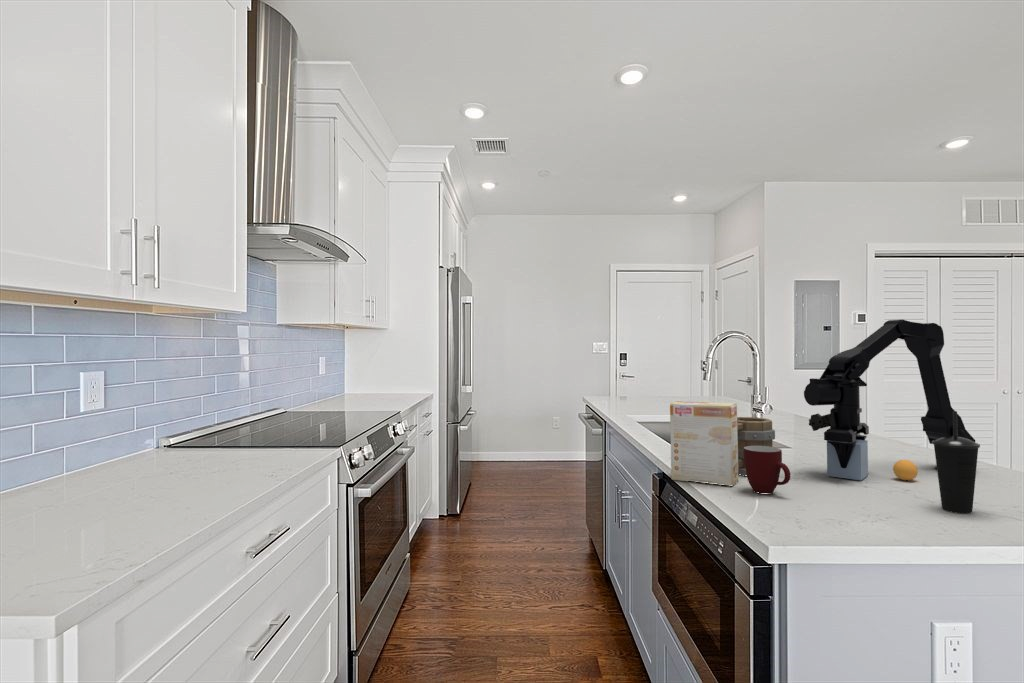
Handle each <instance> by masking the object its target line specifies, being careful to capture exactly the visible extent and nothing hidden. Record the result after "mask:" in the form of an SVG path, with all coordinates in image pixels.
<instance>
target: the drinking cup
mask: <svg viewBox="0 0 1024 683" xmlns="http://www.w3.org/2000/svg"><path fill="white" fill-rule="evenodd" d="M957 414H958V411H956V410H955V411H953V436H949V437H942V438H939V439H937V440H933V441H932V444H931V445H933V449H934V456H935V463H936V465H937V469H936V472H937V478H938V487H939V494H940V503H941V508H943V509H942V510H944V511H946V510H947V512H950V511H952V513H955V512H957V513H956V514H972V513H973V507H974V497H975V488H976V487H975V486H976V476H977V466H978V465H977V464H978V455H979V449H980V448H981V445H980V443H978V442H976V441H975V442H973V441H971V440H969V439H966V438H962V437H958V433H957ZM971 512H972V513H971Z"/></svg>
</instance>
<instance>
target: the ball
mask: <svg viewBox="0 0 1024 683" xmlns="http://www.w3.org/2000/svg"><path fill="white" fill-rule="evenodd" d="M892 467H893V468H892V471H893V474H894V475H895V477H897V478H898V479H899V480H902V481H906V480H908V481H912V480H915V478H916V477H917V476H918V474H919V473H918V472H919V471H918V467H917V466H916V464H915V463H914V462H912V461H911V460H908V459H900V460H898V461H896V462H895V463H894V465H893V466H892Z"/></svg>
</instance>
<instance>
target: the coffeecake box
mask: <svg viewBox="0 0 1024 683" xmlns="http://www.w3.org/2000/svg"><path fill="white" fill-rule="evenodd" d="M737 417H738V404H737V403H736V402H735V403H734V402H733V403H732V402H705V401H700V402H699V401H682V400H681V401H675V402H671V403H670V404H669V420H670V423H669V424H670V425H669V426H670V427H669V428H670V429H669V430H670V469H671V470H670V471H671V472H670V475H671V476H670V478H671V480H672V481H679V482H688V481H698V482H708V483H717V484H724V485H734V486H735V485H736V484H737V483H738V482H739V475H738V435H737ZM737 481H738V482H737ZM736 482H737V483H736ZM735 483H736V484H735Z"/></svg>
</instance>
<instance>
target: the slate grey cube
mask: <svg viewBox="0 0 1024 683" xmlns="http://www.w3.org/2000/svg"><path fill="white" fill-rule="evenodd" d="M855 442H856V445H855V447H854V450H853V452H852V455H851V458H850V460H849V463H848V465H847V468H841V465H840V462H839V459H838V456H837V453H836V450H835V447H834V446H833V445H831V444H830V443H828V442H827V441H826V462H827V463H826V465H827V467H826V468H827V469H826V473H827V474H826V475H827V476H828V477H834V478H840V479H848V480H854V481H863V480H864V479H865V478H866V477H868V476H869V456H868V454H869V452H868V451H869V450H868V449H869V448H868V447H869V446H868V444H869V443H868V442H869V441H868V440H866V439H865V440H855Z"/></svg>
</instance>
